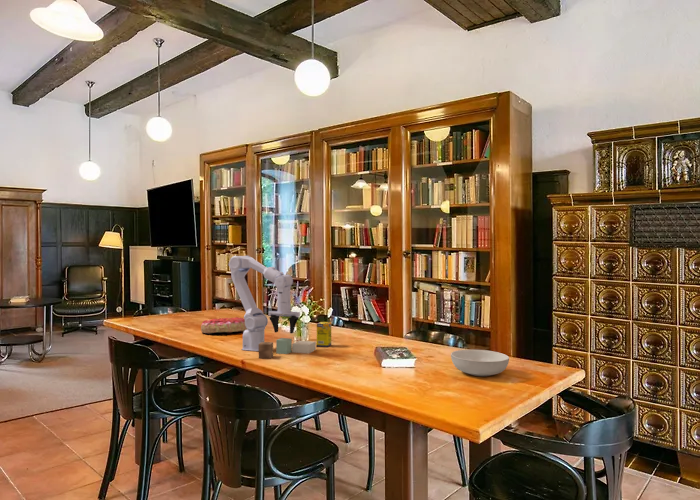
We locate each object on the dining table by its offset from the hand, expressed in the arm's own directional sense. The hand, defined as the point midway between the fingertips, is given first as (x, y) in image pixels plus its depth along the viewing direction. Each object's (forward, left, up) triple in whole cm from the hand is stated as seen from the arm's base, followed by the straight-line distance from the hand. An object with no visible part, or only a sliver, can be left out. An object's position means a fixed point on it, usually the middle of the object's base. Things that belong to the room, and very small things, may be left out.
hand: (284, 332), depth 222 cm
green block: (0, 0, -9) cm, 9 cm away
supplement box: (+11, +20, -9) cm, 25 cm away
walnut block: (-3, -11, -9) cm, 14 cm away
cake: (-56, +38, -9) cm, 69 cm away
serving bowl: (+85, -9, -9) cm, 86 cm away
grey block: (+7, +6, -9) cm, 13 cm away
